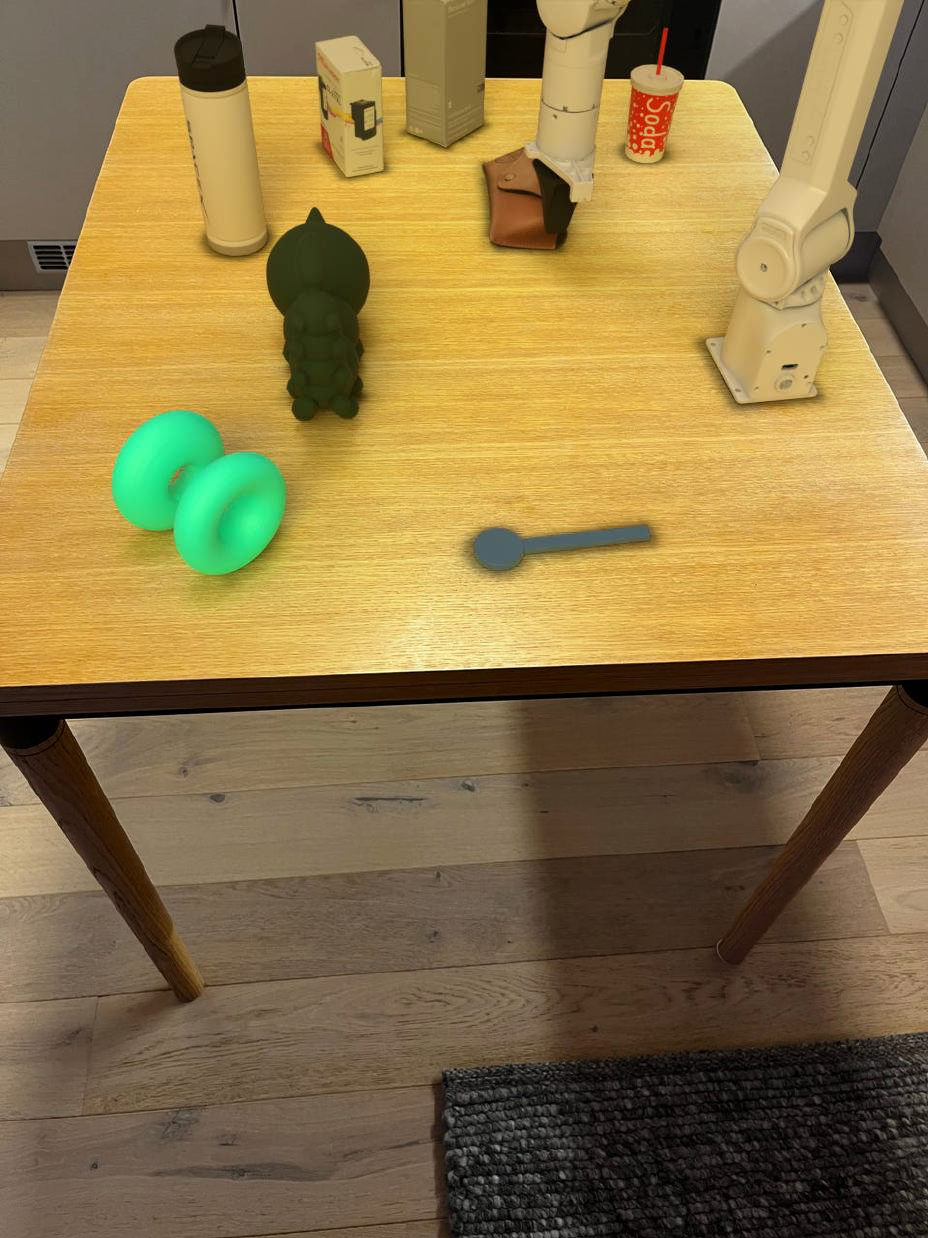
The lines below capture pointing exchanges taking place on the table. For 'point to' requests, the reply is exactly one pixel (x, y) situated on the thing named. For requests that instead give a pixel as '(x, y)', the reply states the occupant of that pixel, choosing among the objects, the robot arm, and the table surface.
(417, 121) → the cosmetic box
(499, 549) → the spoon
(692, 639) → the table surface
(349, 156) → the ink box
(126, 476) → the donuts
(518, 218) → the sunglasses case
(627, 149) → the beverage cup
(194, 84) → the travel mug
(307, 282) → the toy figurine
